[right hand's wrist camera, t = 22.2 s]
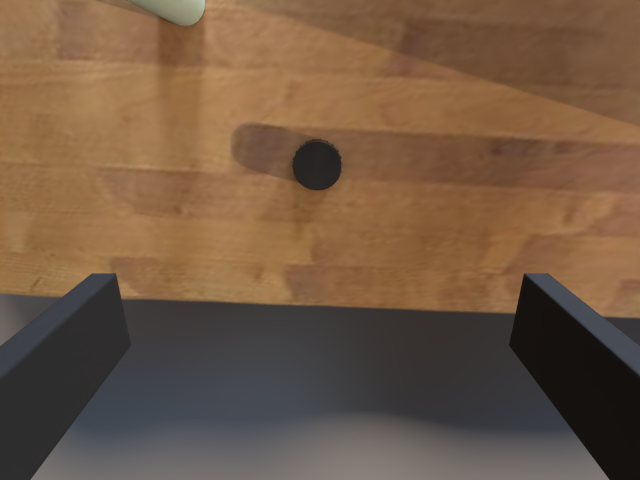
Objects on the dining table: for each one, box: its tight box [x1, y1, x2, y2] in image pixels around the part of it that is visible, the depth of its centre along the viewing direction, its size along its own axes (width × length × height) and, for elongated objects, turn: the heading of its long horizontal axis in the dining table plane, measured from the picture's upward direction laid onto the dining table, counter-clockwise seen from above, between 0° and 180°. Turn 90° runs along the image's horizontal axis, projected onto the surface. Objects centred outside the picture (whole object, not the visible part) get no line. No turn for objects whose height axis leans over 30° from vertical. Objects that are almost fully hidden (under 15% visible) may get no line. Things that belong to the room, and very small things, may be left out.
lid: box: [293, 139, 342, 190], centre depth 39 cm, size 5×5×2 cm
